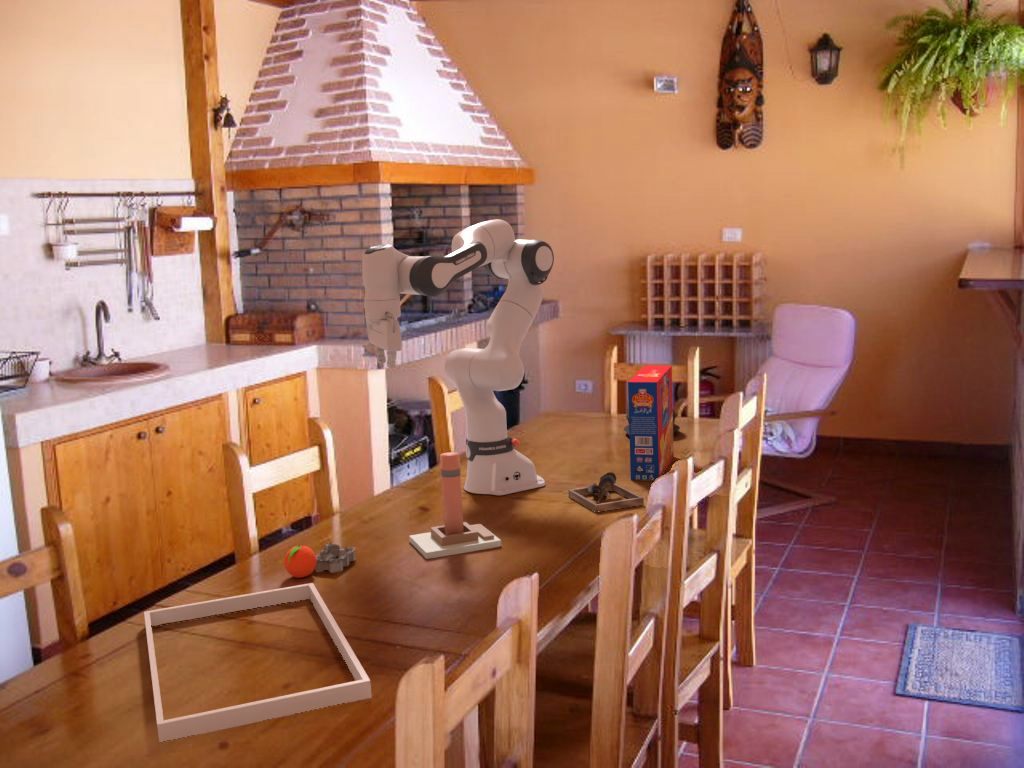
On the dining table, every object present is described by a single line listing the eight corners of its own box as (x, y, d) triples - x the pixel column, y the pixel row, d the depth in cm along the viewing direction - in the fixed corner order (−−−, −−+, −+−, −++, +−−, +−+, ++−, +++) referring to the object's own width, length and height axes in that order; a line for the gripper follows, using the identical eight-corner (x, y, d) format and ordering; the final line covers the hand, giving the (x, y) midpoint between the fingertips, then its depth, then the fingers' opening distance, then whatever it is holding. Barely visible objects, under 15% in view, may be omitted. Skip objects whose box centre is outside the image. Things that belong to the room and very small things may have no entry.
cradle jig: (481, 530, 257) (480, 516, 256) (501, 546, 244) (500, 531, 243) (409, 541, 251) (408, 527, 250) (426, 559, 238) (425, 544, 237)
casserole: (631, 425, 366) (630, 401, 364) (685, 426, 360) (684, 402, 359) (616, 442, 342) (615, 416, 341) (674, 443, 337) (673, 417, 335)
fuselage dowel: (460, 533, 250) (455, 451, 247) (466, 538, 246) (461, 455, 243) (442, 536, 248) (437, 453, 245) (448, 541, 244) (443, 457, 241)
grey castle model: (331, 557, 243) (330, 540, 243) (360, 559, 241) (359, 541, 240) (308, 572, 234) (306, 554, 233) (338, 574, 231) (337, 556, 230)
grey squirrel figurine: (620, 498, 274) (623, 483, 282) (604, 477, 273) (607, 462, 281) (596, 512, 277) (600, 497, 285) (580, 492, 275) (584, 476, 284)
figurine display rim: (614, 489, 286) (614, 482, 286) (643, 505, 271) (643, 497, 271) (568, 497, 282) (568, 489, 281) (595, 513, 266) (595, 505, 266)
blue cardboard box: (659, 481, 293) (656, 382, 288) (630, 480, 295) (628, 381, 291) (673, 456, 319) (671, 365, 315) (647, 456, 322) (645, 365, 317)
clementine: (304, 585, 225) (301, 553, 224) (276, 582, 227) (273, 551, 226) (323, 572, 232) (321, 541, 231) (296, 570, 235) (293, 539, 234)
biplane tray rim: (313, 596, 218) (312, 582, 218) (371, 697, 172) (370, 680, 172) (145, 626, 207) (143, 611, 206) (159, 743, 161) (157, 724, 160)
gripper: (406, 313, 255) (409, 369, 258) (385, 306, 274) (388, 359, 277) (380, 315, 253) (384, 372, 256) (361, 308, 272) (365, 361, 274)
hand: (386, 365), depth 266 cm, fingers open, 8 cm apart
